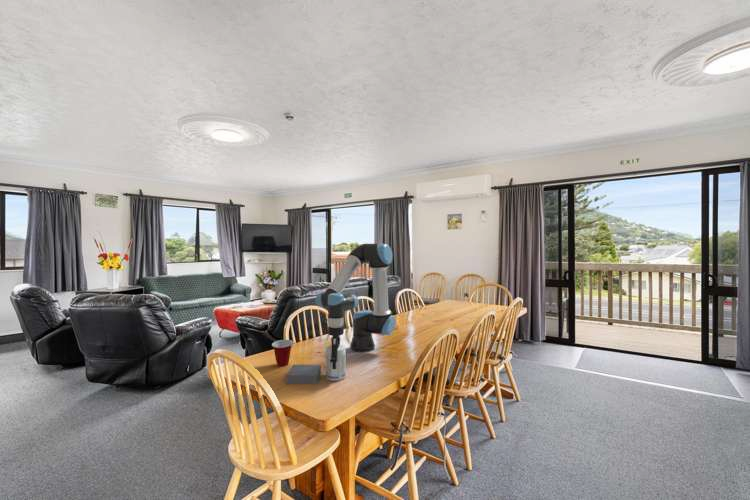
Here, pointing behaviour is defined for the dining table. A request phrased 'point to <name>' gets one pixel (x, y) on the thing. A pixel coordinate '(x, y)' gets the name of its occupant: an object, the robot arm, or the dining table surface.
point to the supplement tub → (340, 363)
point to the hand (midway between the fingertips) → (335, 370)
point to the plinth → (303, 374)
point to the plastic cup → (282, 351)
